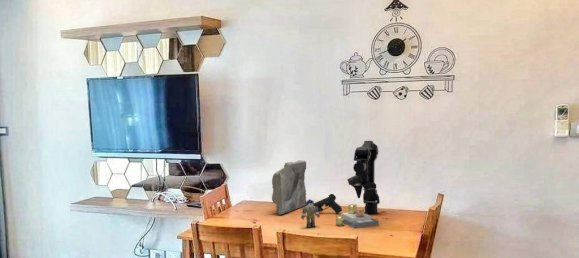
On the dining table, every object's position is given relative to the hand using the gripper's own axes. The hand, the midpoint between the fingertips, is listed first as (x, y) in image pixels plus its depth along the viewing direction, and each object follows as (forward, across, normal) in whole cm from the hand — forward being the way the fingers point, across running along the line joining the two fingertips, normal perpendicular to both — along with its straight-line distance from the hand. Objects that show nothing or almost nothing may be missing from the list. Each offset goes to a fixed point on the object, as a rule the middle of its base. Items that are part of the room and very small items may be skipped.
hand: (363, 199), depth 250 cm
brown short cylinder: (+9, 0, -2) cm, 9 cm away
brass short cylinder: (+9, -8, -2) cm, 12 cm away
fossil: (+13, -49, -24) cm, 56 cm away
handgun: (+13, -31, -8) cm, 34 cm away
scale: (+13, -3, -2) cm, 13 cm away
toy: (+13, -5, -29) cm, 32 cm away
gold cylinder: (+13, -2, -13) cm, 19 cm away
